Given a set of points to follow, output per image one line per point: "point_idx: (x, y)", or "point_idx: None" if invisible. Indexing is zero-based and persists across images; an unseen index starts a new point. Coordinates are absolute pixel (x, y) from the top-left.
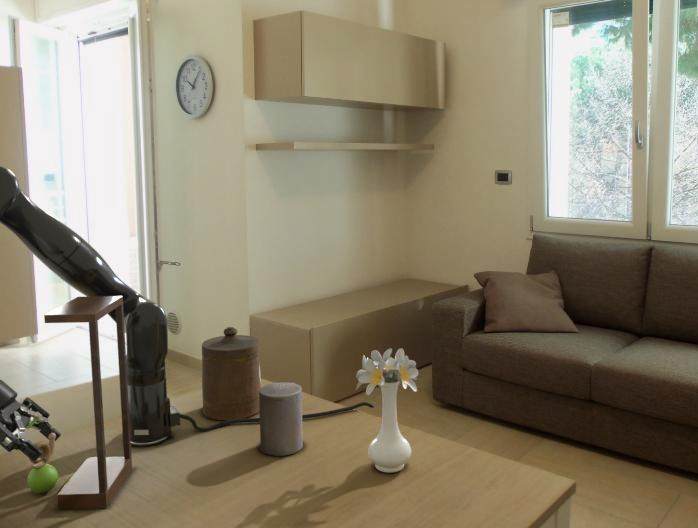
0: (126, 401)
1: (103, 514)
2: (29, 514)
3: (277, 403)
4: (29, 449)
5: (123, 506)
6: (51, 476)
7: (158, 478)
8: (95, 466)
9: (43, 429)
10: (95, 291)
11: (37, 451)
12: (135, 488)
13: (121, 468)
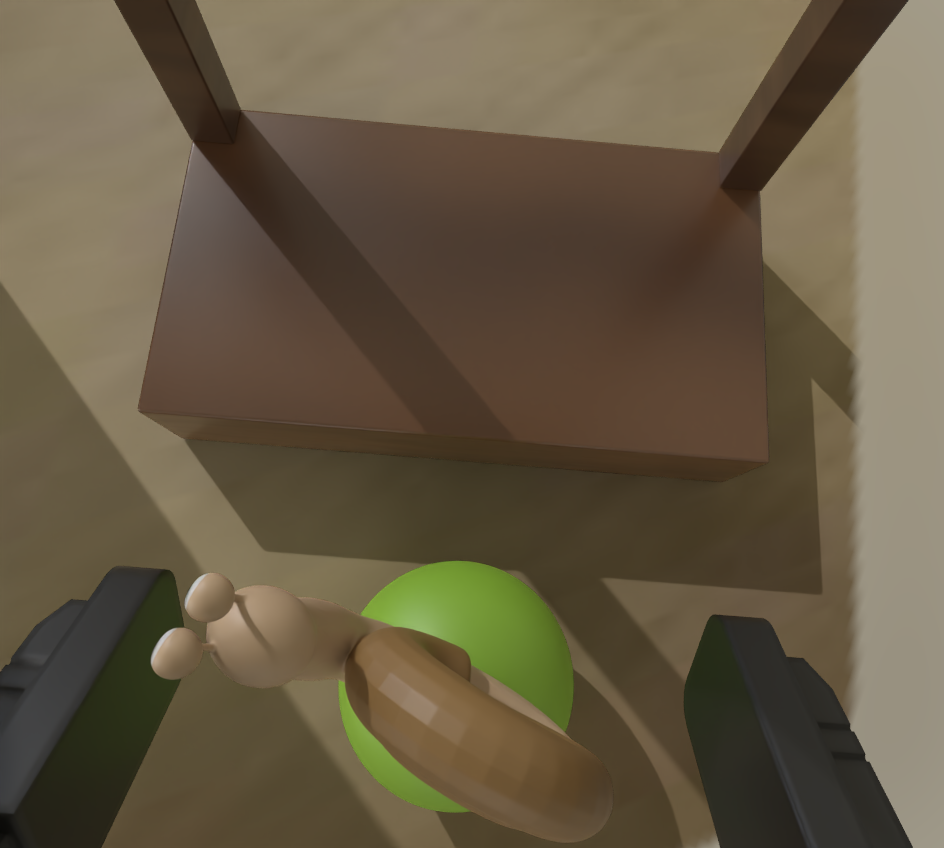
0: None
1: (783, 214)
2: None
3: None
4: (868, 777)
5: (701, 134)
6: (517, 584)
7: (389, 16)
8: (332, 310)
9: (64, 846)
10: None
11: (782, 666)
12: (496, 111)
13: (401, 131)
